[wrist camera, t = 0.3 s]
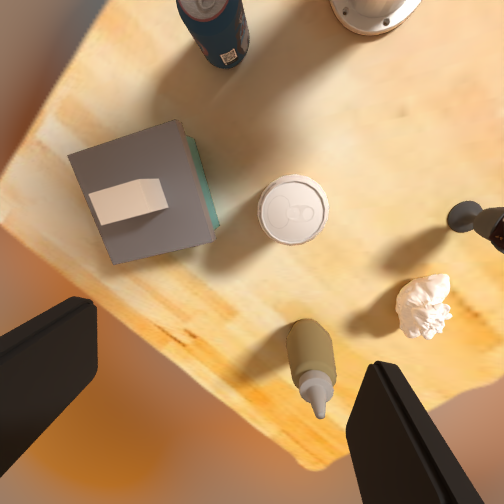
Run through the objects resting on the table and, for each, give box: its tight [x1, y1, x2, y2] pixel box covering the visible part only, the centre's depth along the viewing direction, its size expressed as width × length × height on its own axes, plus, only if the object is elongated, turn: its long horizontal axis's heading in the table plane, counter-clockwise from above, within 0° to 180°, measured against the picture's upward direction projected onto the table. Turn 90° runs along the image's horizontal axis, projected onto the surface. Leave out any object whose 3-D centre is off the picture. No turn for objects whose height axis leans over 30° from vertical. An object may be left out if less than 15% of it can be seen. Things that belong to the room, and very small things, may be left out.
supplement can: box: [257, 174, 329, 246], centre depth 35 cm, size 8×8×15 cm
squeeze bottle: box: [286, 319, 337, 419], centre depth 40 cm, size 8×8×18 cm
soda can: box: [176, 0, 249, 69], centre depth 31 cm, size 7×7×12 cm
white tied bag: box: [395, 274, 453, 340], centre depth 40 cm, size 12×8×11 cm
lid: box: [67, 120, 216, 265], centre depth 34 cm, size 16×16×7 cm
